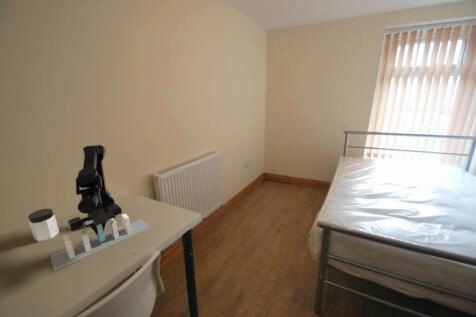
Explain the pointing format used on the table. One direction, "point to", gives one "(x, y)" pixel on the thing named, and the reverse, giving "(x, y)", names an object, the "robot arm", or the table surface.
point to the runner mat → (96, 245)
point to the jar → (43, 224)
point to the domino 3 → (100, 233)
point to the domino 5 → (126, 223)
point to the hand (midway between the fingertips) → (100, 233)
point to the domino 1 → (69, 246)
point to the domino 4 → (113, 228)
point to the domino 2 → (85, 240)
